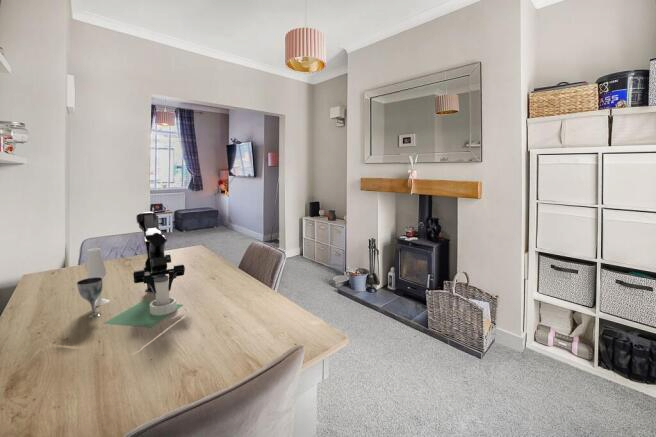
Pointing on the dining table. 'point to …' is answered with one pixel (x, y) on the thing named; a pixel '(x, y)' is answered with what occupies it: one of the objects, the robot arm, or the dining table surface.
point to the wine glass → (90, 291)
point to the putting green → (145, 314)
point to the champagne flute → (96, 269)
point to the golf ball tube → (162, 290)
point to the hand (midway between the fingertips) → (162, 291)
